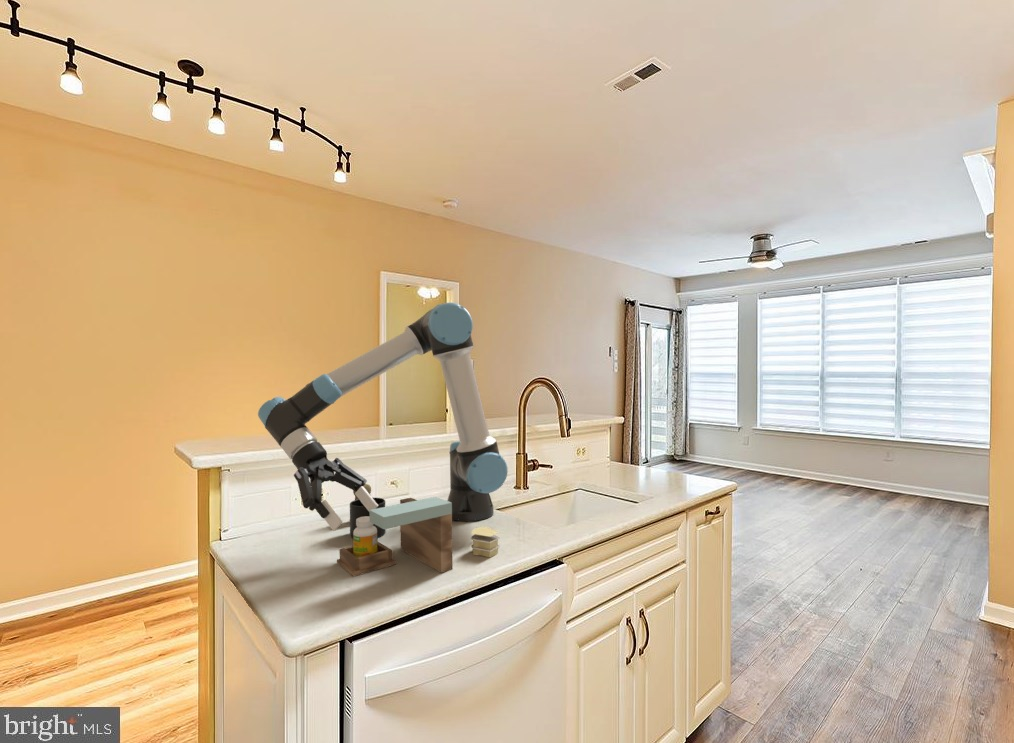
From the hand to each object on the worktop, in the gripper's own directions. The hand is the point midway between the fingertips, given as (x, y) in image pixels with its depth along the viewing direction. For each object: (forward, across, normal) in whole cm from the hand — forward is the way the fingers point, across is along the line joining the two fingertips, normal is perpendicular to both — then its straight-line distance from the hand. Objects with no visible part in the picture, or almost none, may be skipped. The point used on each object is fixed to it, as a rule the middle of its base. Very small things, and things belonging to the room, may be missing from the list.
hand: (357, 517), depth 114 cm
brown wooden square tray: (+9, 0, -6) cm, 11 cm away
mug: (+1, -17, -14) cm, 22 cm away
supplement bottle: (+8, 0, -6) cm, 10 cm away
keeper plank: (+10, +1, +12) cm, 16 cm away
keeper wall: (+17, -7, +2) cm, 19 cm away
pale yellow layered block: (+26, -16, +10) cm, 32 cm away
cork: (-6, -28, -21) cm, 35 cm away
